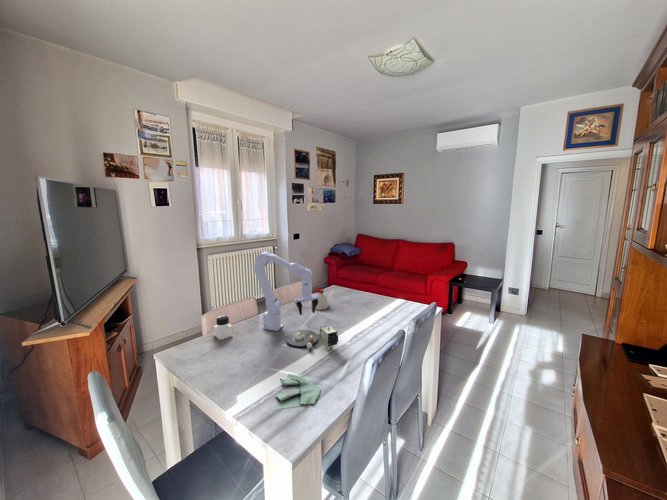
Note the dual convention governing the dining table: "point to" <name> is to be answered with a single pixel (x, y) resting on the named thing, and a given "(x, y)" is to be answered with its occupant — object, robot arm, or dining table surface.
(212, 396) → the dining table surface
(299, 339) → the cover
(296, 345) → the turntable
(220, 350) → the dining table surface
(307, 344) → the silver oval knob
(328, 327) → the pneumatic valve
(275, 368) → the dining table surface
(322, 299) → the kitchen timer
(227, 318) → the medicine bottle
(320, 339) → the base plate
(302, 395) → the cloth
